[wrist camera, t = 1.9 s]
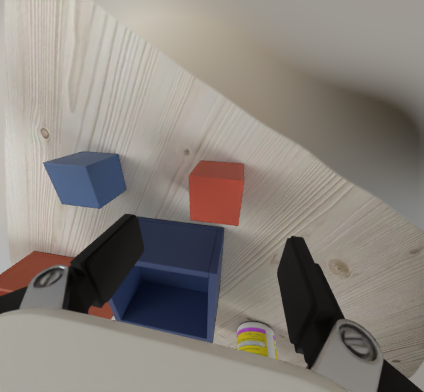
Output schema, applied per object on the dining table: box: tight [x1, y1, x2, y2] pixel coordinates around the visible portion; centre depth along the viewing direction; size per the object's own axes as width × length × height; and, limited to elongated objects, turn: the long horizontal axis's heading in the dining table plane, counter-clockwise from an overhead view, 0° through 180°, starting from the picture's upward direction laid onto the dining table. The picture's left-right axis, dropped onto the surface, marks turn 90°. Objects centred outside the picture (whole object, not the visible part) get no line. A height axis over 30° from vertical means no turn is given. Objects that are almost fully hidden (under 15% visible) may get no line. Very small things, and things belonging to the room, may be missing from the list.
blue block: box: [43, 152, 126, 209], centre depth 18 cm, size 4×4×4 cm
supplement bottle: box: [237, 322, 278, 360], centre depth 26 cm, size 7×7×13 cm
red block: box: [189, 161, 244, 226], centre depth 16 cm, size 4×4×4 cm
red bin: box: [0, 251, 114, 319], centre depth 30 cm, size 14×14×7 cm
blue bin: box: [108, 217, 224, 343], centre depth 22 cm, size 14×14×7 cm
